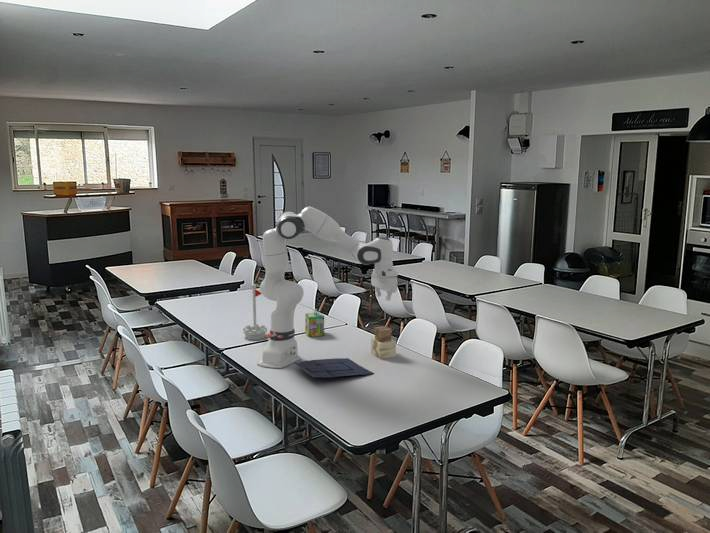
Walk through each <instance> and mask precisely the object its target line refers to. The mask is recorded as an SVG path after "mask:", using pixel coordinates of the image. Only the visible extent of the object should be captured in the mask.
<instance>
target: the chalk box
mask: <svg viewBox="0 0 710 533" xmlns="http://www.w3.org/2000/svg"><path fill="white" fill-rule="evenodd" d="M304 321H305V324H304V325H305V327H304V329H305V331H304V332H305V334H306V336H307V337H308V338H315V337H317V338H318V337H325V316H324V314H322V312H318V308H314V312H307V313H305V319H304Z"/></svg>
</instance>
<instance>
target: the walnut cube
mask: <svg viewBox="0 0 710 533" xmlns="http://www.w3.org/2000/svg"><path fill="white" fill-rule="evenodd" d="M374 338H375V340H377V341H379V342H380V343H381V342H388V341H391V339H392V328H390V327H388V326H385V325H384V326H376V327H374Z"/></svg>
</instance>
